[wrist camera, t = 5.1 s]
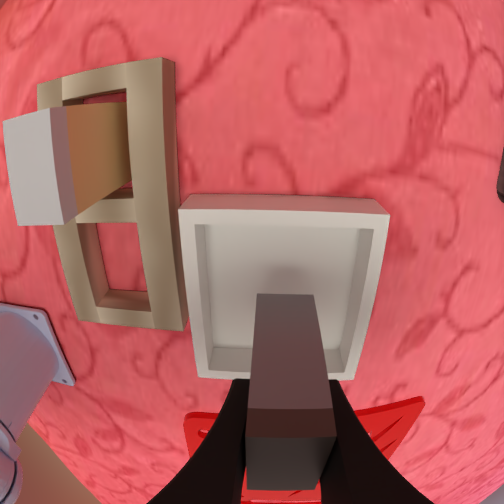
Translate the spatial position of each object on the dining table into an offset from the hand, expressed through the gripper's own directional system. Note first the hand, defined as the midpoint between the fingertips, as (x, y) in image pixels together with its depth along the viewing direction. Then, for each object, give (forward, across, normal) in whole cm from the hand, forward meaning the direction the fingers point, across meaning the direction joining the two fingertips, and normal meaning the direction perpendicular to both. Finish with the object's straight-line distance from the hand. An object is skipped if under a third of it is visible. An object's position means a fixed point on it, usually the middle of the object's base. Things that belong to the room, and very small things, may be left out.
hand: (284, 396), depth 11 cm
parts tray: (+8, 0, 0) cm, 8 cm away
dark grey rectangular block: (+4, 0, 0) cm, 4 cm away
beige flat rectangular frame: (+8, +9, -5) cm, 13 cm away
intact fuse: (+8, +9, -8) cm, 14 cm away
